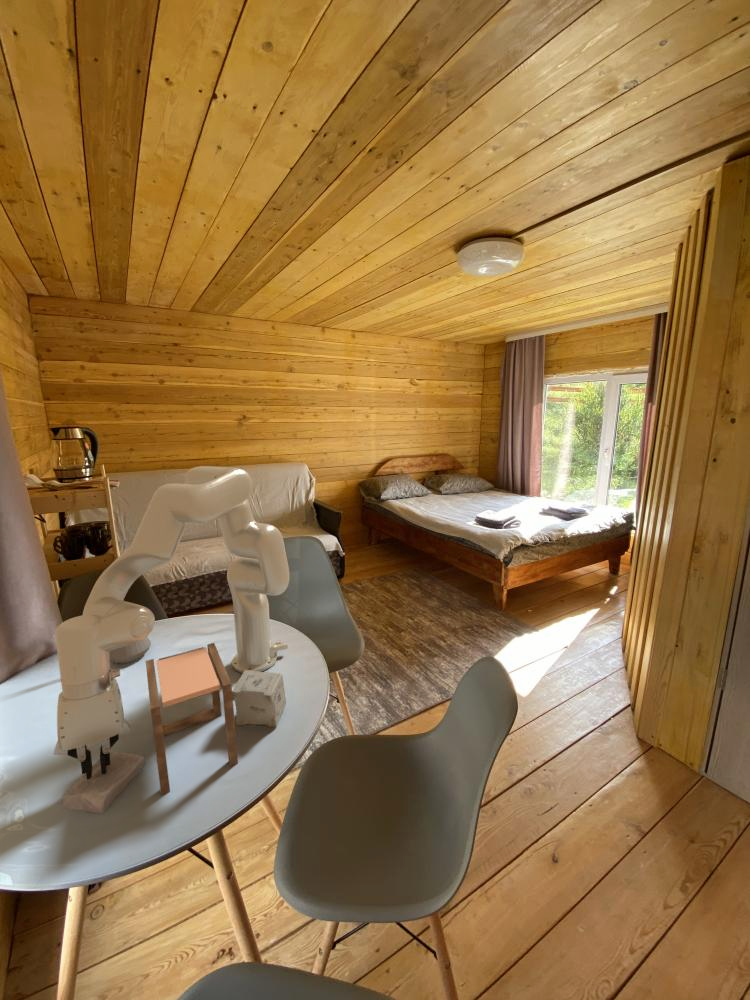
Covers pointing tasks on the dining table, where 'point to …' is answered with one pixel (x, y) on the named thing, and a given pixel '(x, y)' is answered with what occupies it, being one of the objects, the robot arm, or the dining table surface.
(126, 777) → the stone block
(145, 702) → the dining table surface
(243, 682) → the white speckled block
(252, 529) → the robot arm
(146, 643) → the coffee pot
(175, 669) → the trapdoor
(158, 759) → the stand
